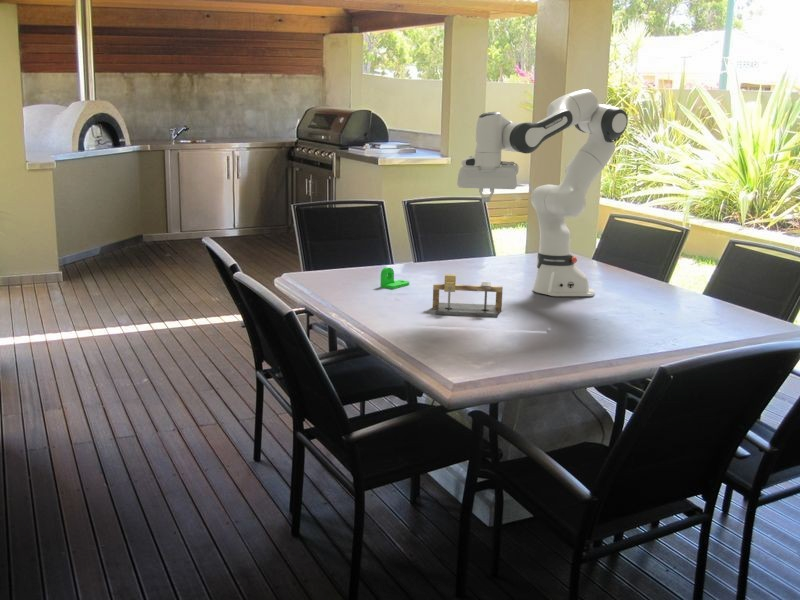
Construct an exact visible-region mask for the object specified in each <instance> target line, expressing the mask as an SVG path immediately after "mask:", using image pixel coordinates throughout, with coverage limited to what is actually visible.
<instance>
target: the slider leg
mask: <svg viewBox="0 0 800 600" xmlns="http://www.w3.org/2000/svg"><path fill="white" fill-rule="evenodd" d="M456 279H457V274H455V273H445V274H444V283H443V284H444V290H443V291H444V292H445V293H447V303H448V308H450V303H451V293H455V292H456V290H455V284H457V282H456Z"/></svg>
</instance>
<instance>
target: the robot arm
mask: <svg viewBox="0 0 800 600" xmlns="http://www.w3.org/2000/svg"><path fill="white" fill-rule="evenodd" d="M598 101H599V100H598V97H597V95H596V94H595V92H593V91H592V90H590V89H579V90H575V91H572V92H569V93H567V94H564V95H561V96H560V97H558V98H556V99H554V100H553V101H551V103H549V104H548V107H547V110H546V117H545V118H543V119H541V120H538V122H528V121H527V122H513V121H511V120H509V119H508V118H506V117H505V116H503V114H502V113H501V112H499V111H491V112H490V111H489V112H484V113H482V114H480V115H479V116H478V118H477V121H476V128H475V130H476V131H475V141H476V148H475V151H474V155H473V156H469V157H466V158H463V159H462V160H461V167H460V168H459V171H458V174H457V183H456V185H457V188H459V189H478V192H479V194H480V196H481V202H482V203H491V198H492V196H493V195H494V193H495V190H515V189H516V188H517V186H518V182H517V181H518V179H517V178H518V177H517V175H518V174H519V167H520V166H519V164H517V163H516V162H515V161H504V160H503V161H502V151H505V152H513V153H515V152H516V153H522V154H531V153H533V152H536V150H538V148H539V147H540V146H541V145H542V144H543V142H545V141H546V140H548V139H550V138H551V137H553V136H555V135H556V134H558V133H560V132H562V131H564V130H566V129H569V128H572V127H573V126H574V127H575V129H577V130H578V131H580V132H582V133H586V134H589V135H588V138H587V139H586V140H587V141H586V142H585V144H583V145H582V147H580V148H579V150H578V151H577V152H576V154H575V155H574V156H573V157H572V159H571V160H570V161H569V162H568V163H567V165H566V166H565V168H564V173H565V175H564V178H563V179H562V181H561V183H559V184H558V185H556V184H544V185H539V186H537V187H536V188H534V189H533V191H532V193H531V197H530V202H531V205H532V208H534V211H535V213H536V216H537V222H538V227H539V246H538V247H539V249H538V253H537V257H536V268H537V270H536V271H537V272H536V275H535V280H534V284H533V286H532V287H533V288H532V291H533V292H535V293H537V294H543V295H548V296H551V297H593V296H595V290H594V288H591V287H590V284H589V278H588V276H587V275H586V274H585V273H584V272H583V271H582V270H581V269H580V268H578V267H577V266H576V265H575V264H576V263H577V262H578V258H577V257H575V256H573V255H572V254H570V251H571V237H572V234H571V231H570V229H569V228H568V226H567V223H566V219H569V218H570V219H571V218H576V217H579V216H581V214H583V212H584V211H585V209H586V203H587V201H586V200H587V199H586V195H587V192H588V190H589V188H590V186H591V185H592V184H593V182H594V181H595V180H596V179H597V177H598V176H599V175H600V173H601V172H602V171H603V170H604V168H605V167H606V165H607V164H608V163H609V161H610V160H611V158H612V156H613V154H614V152H615V149H616V144H615V142H617V141H618V140H620V138H621V136H622V135H623V134H624V133H625V131H626V129H627V127H628V121H629V120H628V119H629V118H628V114H627V112H626V111H625V110H624V109H622V108H620V107H618V106H612V105H608V104H604V103H602V104H601V103H599V102H598ZM484 189H486V190H488V189H489V192H490V194H489V195H488V196H487V195H486V196H485V195H484Z"/></svg>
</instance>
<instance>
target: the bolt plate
mask: <svg viewBox="0 0 800 600" xmlns="http://www.w3.org/2000/svg"><path fill="white" fill-rule="evenodd" d="M495 306H496V304H486V310H484V303H483V304H481V303H459V302H456V303H455V302H450V308H448V302H439V305H437V308H436V309H435V315H436V316H437V315H439V316H440V315H441V316H444V315H445V316H462V317H463V316H465V317H485V318H498V313H499V311H497V308H496V307H495Z"/></svg>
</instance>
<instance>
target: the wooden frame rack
mask: <svg viewBox="0 0 800 600" xmlns="http://www.w3.org/2000/svg"><path fill="white" fill-rule="evenodd" d="M444 284H445V283H433V285H432V287H433V288H432V291H433V292H432V309H434V310H436V308H437V305H439V303H440V290H442V291H444ZM455 291H462V292H468V291H469V292H484V303H483V304H484V310H486V305H488V304H487V303H488V301H487V299H488V292H489V293H490V292H491V293H495V305H496V306H495V307H496V308H497V312H502V308H503V307H502V306H503V305H502V304H503V291H504V287H503V285H492V282H488V281H482V282H481V285H480V284H479V285H478V284H476V285H475V284H458V283H456V284H455Z"/></svg>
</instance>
